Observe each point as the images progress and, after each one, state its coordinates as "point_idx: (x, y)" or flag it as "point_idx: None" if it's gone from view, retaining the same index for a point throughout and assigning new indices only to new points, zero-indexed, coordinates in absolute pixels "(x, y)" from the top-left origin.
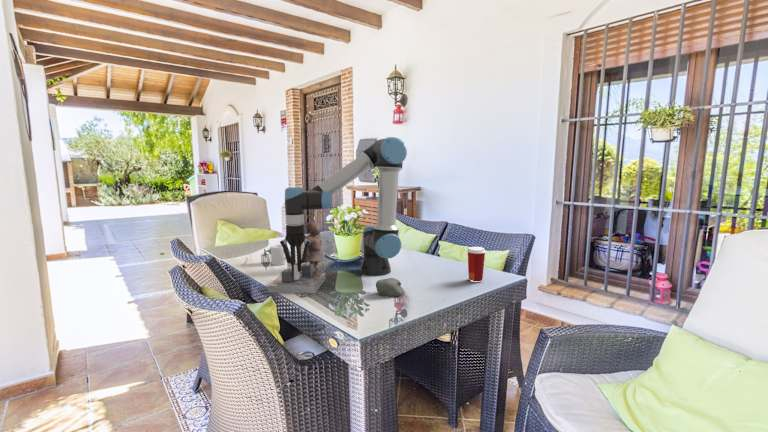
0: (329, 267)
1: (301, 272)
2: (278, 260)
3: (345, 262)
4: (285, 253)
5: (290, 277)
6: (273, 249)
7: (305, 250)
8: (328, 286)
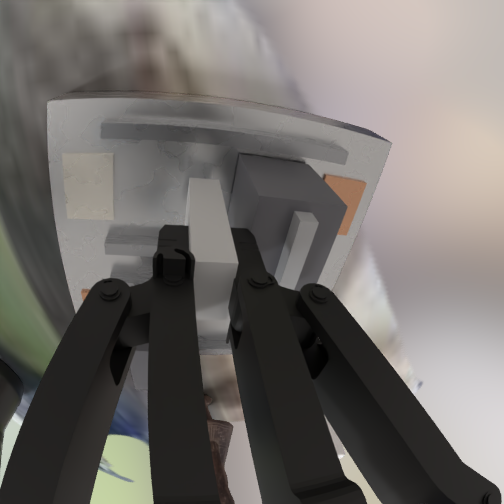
0: (139, 412)
1: (209, 345)
2: None
3: (110, 432)
4: (393, 385)
5: (252, 172)
6: (337, 448)
7: (27, 456)
8: (31, 223)
